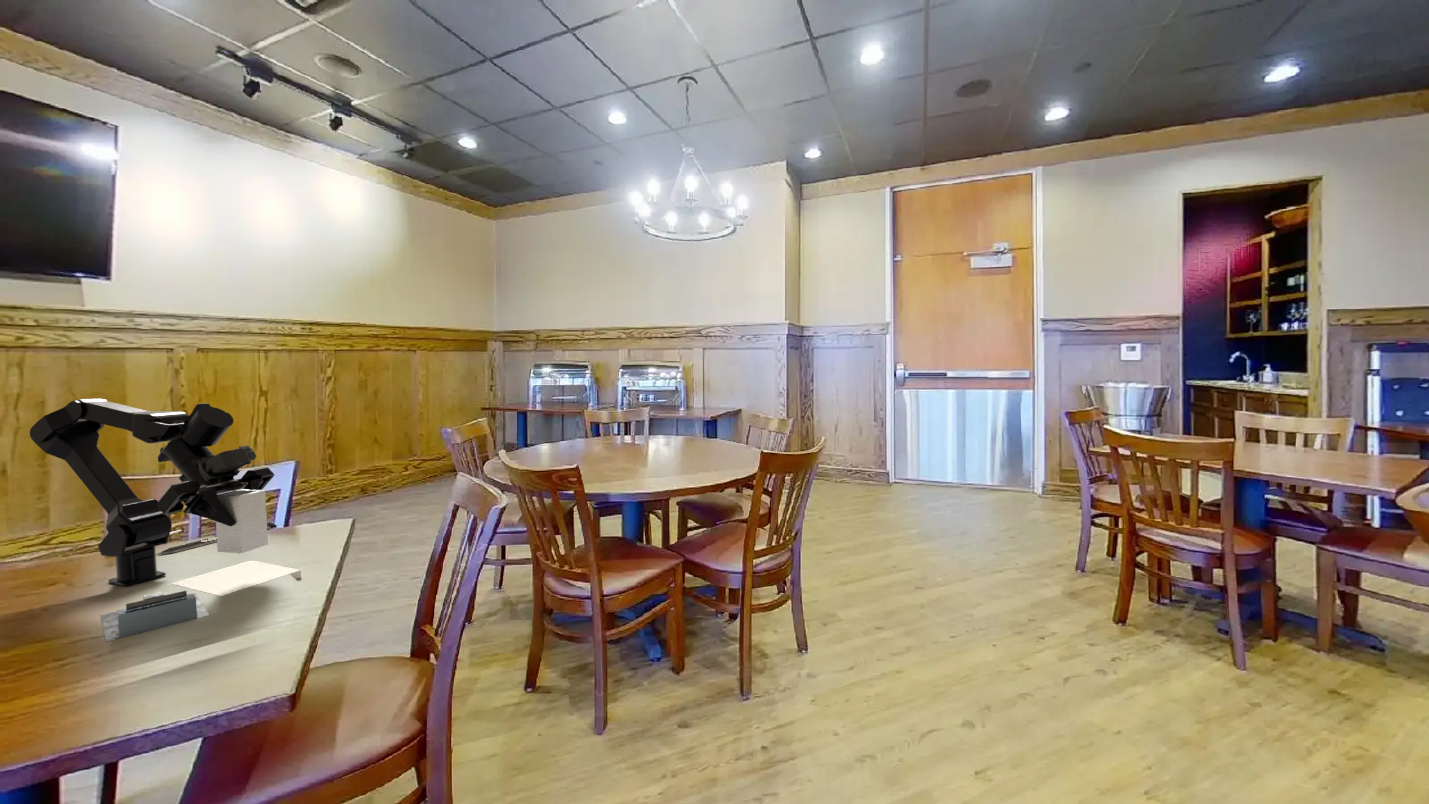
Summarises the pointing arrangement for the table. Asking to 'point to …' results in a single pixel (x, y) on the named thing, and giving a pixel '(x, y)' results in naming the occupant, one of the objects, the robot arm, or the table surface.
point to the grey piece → (152, 614)
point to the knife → (196, 544)
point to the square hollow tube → (243, 521)
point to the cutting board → (237, 577)
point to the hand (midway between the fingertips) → (247, 520)
